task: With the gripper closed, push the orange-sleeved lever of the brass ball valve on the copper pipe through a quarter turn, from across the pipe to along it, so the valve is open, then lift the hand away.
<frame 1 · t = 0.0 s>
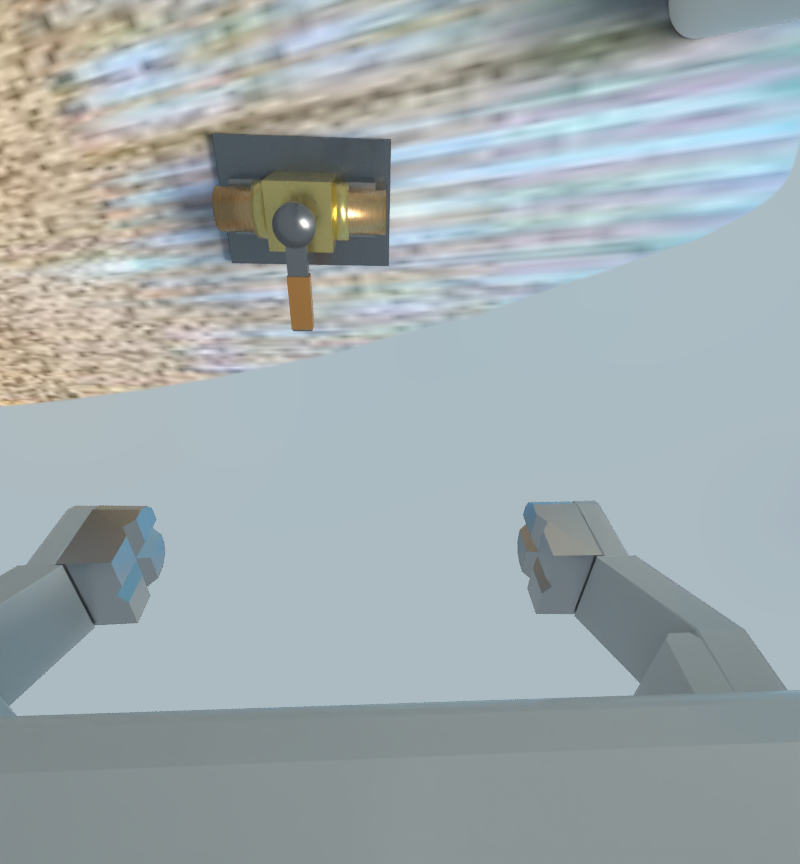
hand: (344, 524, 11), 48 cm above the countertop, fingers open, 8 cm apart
valve: (307, 203, 51), on the countertop
lever: (298, 270, 44), point 11 cm above the countertop, hinge at 0.0°
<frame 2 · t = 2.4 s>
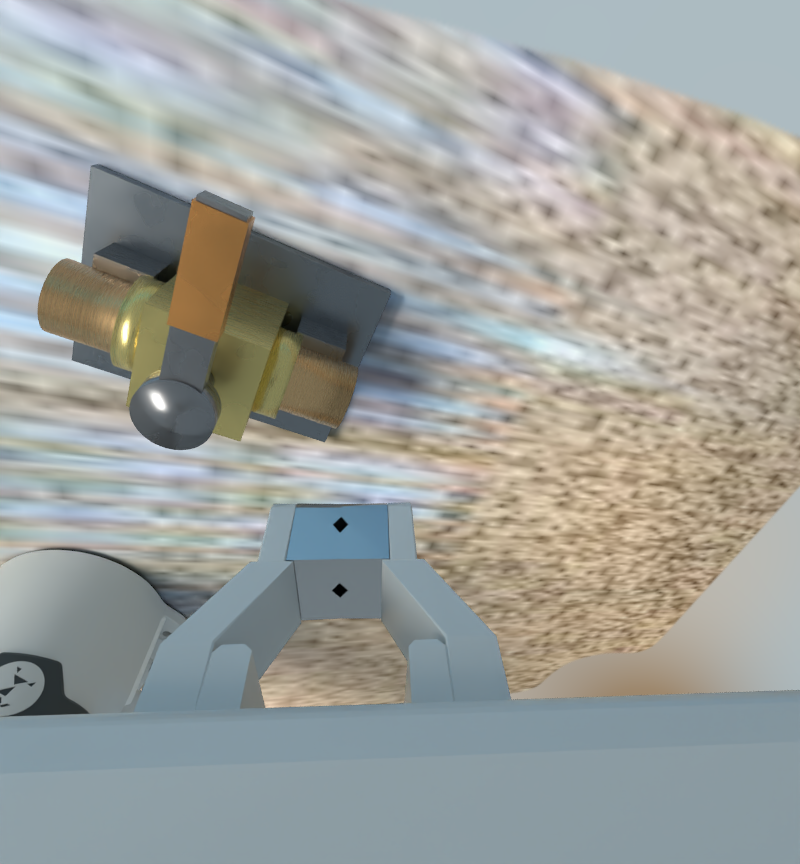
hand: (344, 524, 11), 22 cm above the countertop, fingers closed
valve: (231, 323, 31), on the countertop
lever: (194, 337, 21), point 11 cm above the countertop, hinge at 0.0°
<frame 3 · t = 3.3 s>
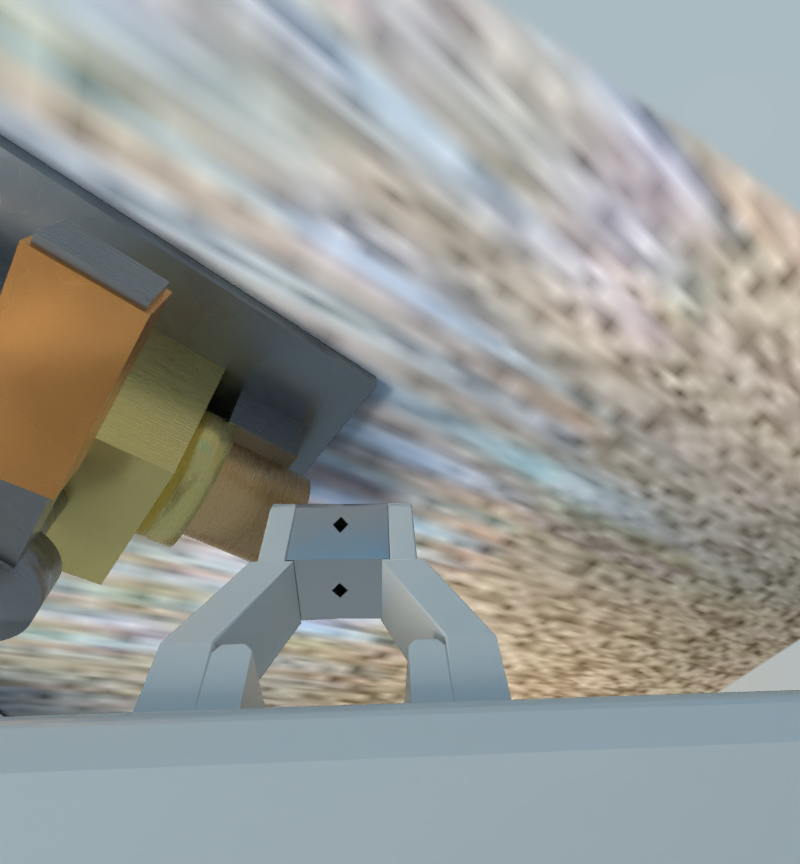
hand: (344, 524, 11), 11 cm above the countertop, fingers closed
valve: (131, 375, 21), on the countertop
lever: (12, 474, 11), point 11 cm above the countertop, hinge at 0.0°
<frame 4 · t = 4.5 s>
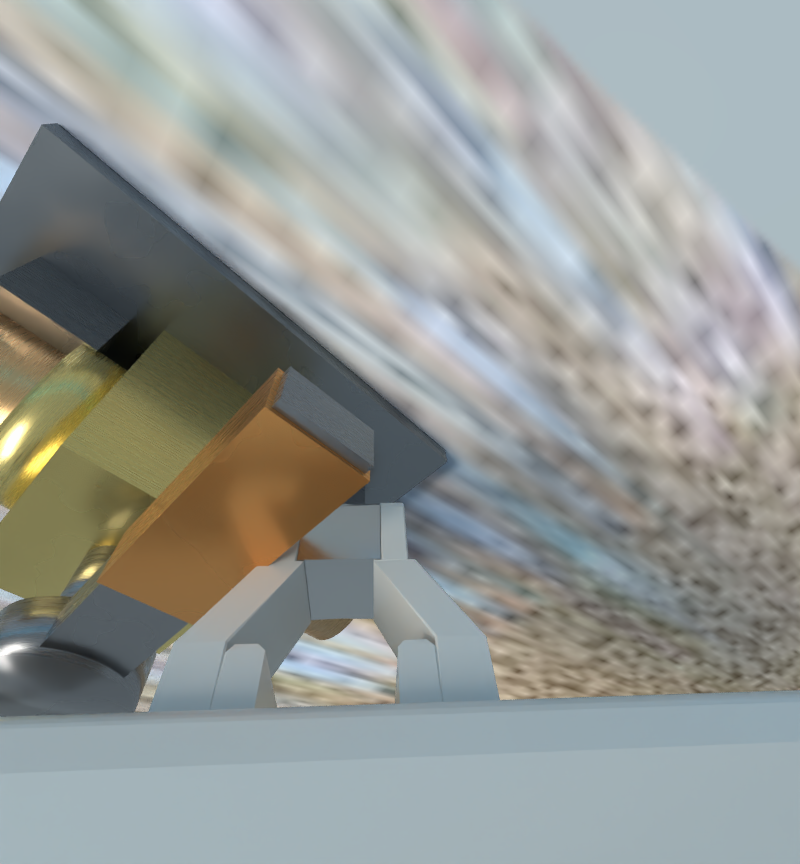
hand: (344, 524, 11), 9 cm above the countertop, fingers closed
valve: (198, 420, 20), on the countertop
lever: (148, 590, 10), point 11 cm above the countertop, hinge at 0.9°, touching gripper
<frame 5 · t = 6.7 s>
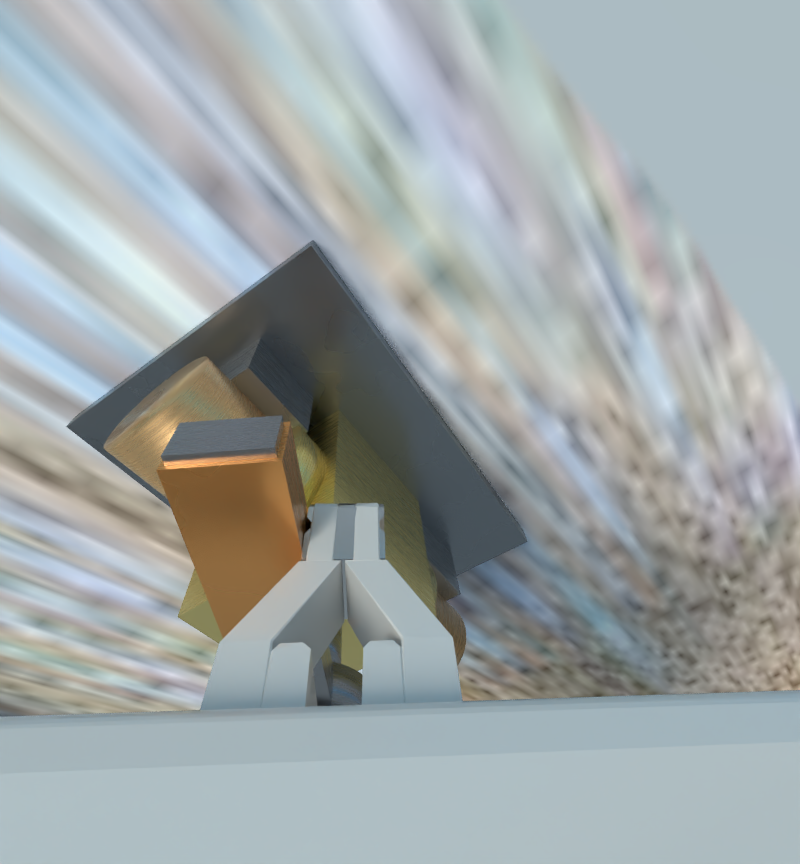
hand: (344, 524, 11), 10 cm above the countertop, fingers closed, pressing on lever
valve: (326, 479, 22), on the countertop
lever: (282, 636, 11), point 11 cm above the countertop, hinge at 59.3°, touching gripper
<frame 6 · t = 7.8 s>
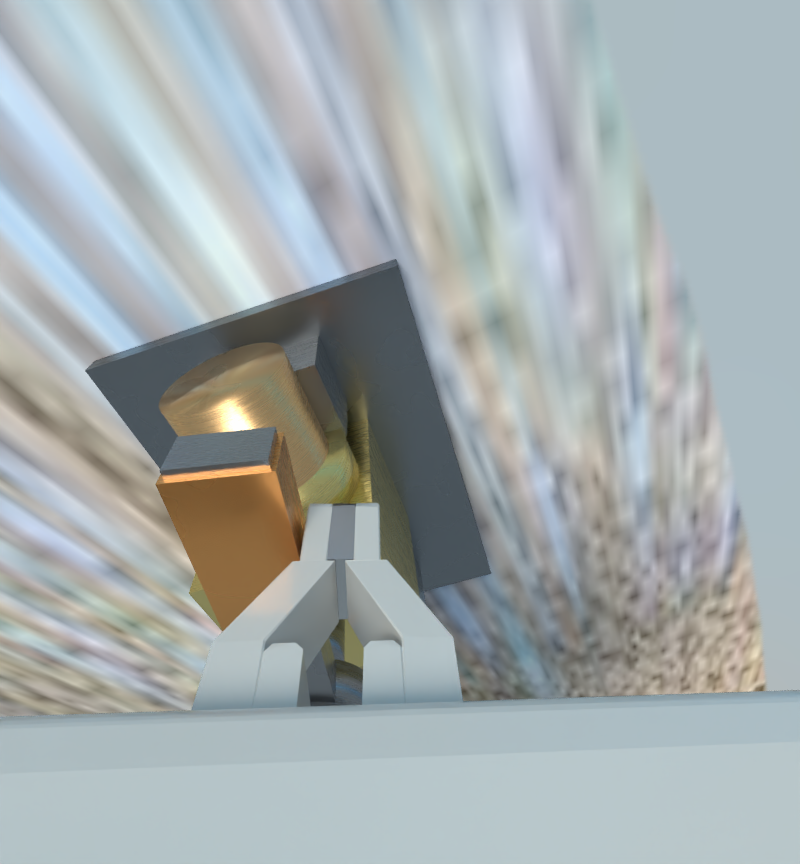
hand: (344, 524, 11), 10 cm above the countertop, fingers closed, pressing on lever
valve: (326, 479, 23), on the countertop
lever: (285, 637, 12), point 11 cm above the countertop, hinge at 76.9°, touching gripper
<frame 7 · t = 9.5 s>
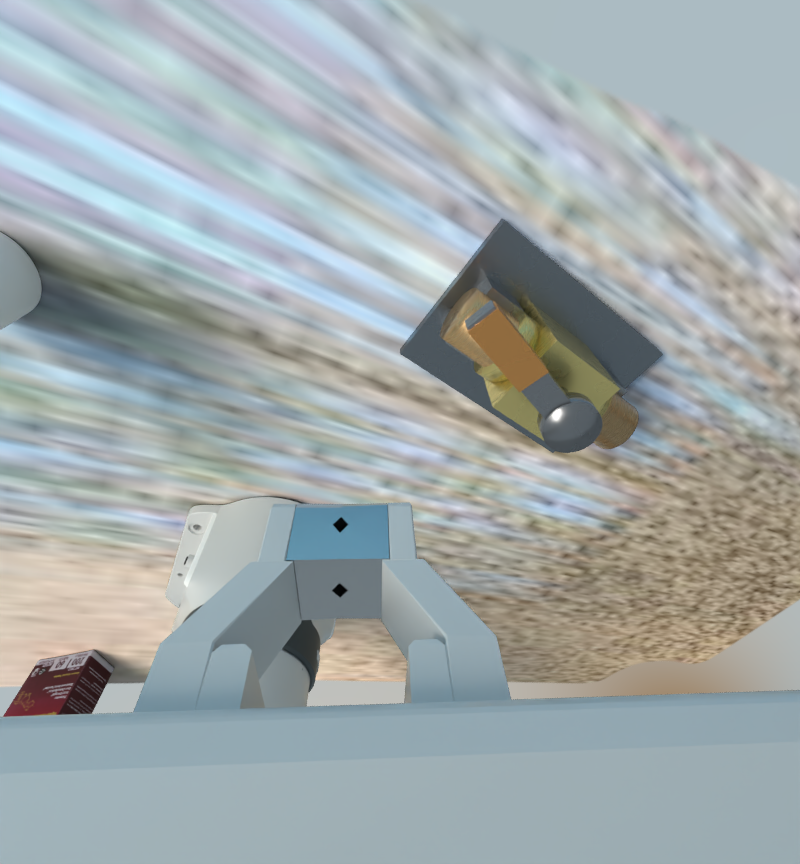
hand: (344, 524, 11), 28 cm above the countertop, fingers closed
supplement box: (77, 661, 64), on the countertop
valve: (529, 349, 39), on the countertop
lever: (535, 382, 29), point 11 cm above the countertop, hinge at 77.1°
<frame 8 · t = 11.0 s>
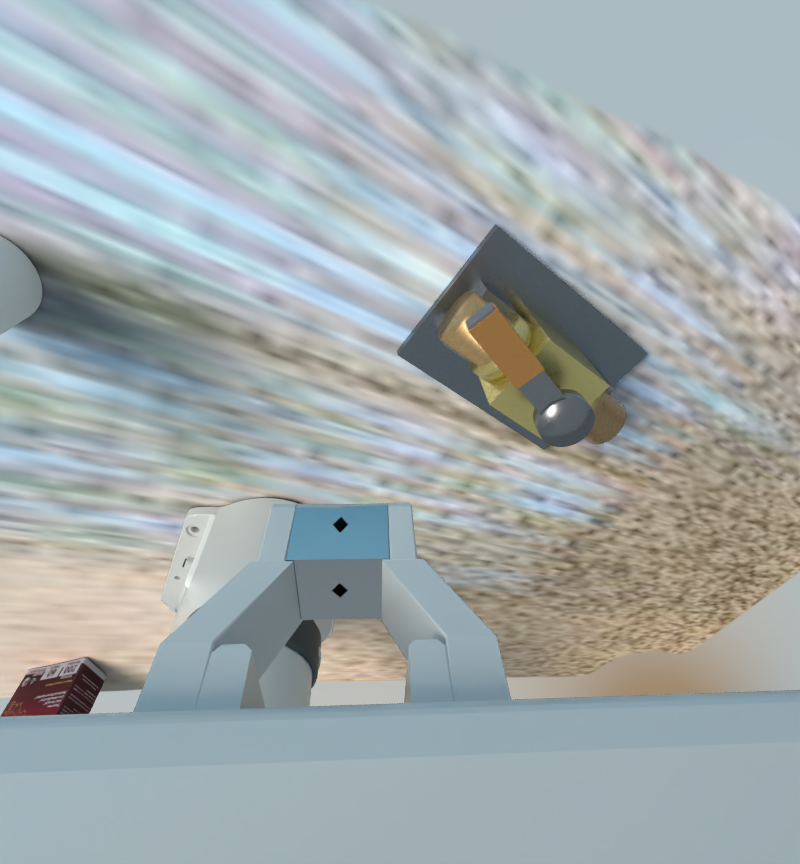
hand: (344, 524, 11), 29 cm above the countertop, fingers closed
supplement box: (68, 670, 63), on the countertop
valve: (521, 350, 41), on the countertop
lever: (531, 379, 30), point 11 cm above the countertop, hinge at 77.1°
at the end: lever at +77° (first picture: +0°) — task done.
